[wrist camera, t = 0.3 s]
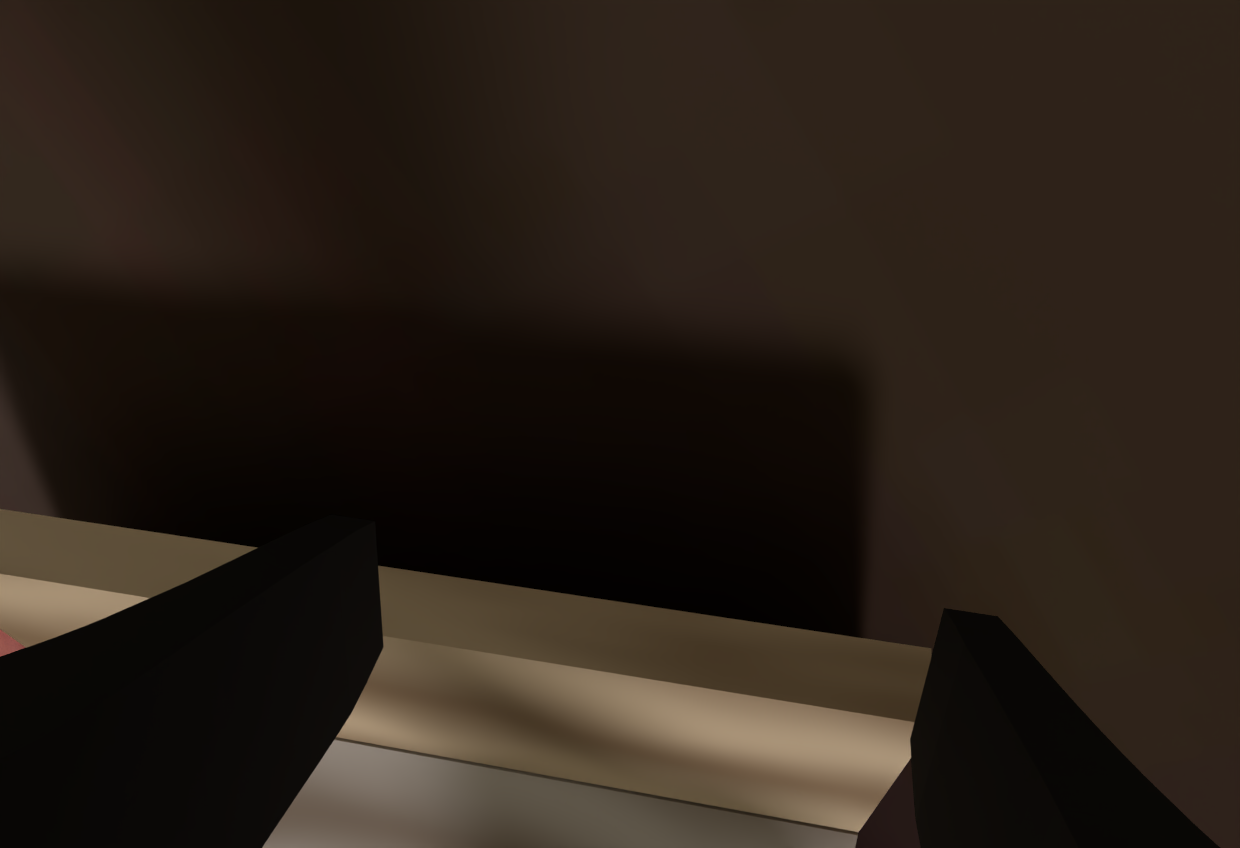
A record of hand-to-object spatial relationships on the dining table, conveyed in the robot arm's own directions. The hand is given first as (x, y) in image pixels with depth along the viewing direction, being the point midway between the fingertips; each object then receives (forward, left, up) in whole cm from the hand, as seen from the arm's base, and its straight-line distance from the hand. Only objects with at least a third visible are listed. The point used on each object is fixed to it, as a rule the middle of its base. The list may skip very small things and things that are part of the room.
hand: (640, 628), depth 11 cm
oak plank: (-7, +6, -7) cm, 12 cm away
